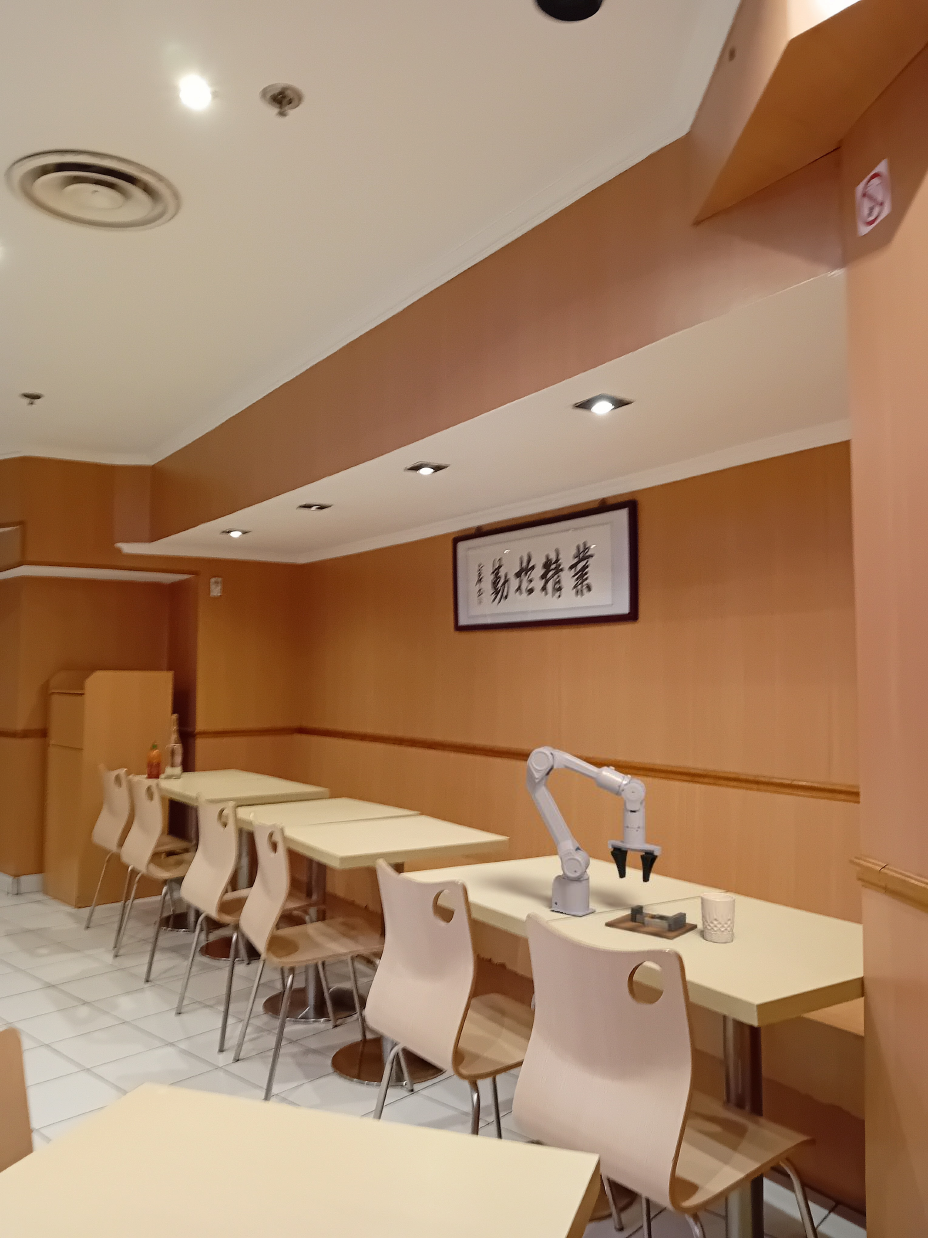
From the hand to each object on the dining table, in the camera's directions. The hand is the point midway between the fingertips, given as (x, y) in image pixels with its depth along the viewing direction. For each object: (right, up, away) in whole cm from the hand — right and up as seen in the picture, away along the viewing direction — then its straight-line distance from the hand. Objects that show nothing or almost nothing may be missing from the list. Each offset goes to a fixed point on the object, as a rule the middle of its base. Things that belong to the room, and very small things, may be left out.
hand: (634, 879), depth 234 cm
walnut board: (+2, -9, -10) cm, 14 cm away
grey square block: (+1, -8, -10) cm, 13 cm away
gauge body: (+5, -8, -13) cm, 16 cm away
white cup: (+16, -8, -20) cm, 27 cm away
